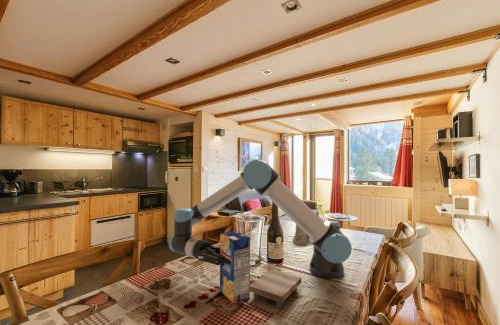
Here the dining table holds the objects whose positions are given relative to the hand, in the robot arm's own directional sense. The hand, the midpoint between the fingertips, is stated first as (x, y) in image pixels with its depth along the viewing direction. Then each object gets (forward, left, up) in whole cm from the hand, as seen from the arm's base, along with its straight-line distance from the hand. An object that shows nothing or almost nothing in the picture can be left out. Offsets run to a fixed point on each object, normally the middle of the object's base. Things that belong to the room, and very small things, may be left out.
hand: (244, 261), depth 87 cm
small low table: (-9, +8, -14) cm, 18 cm away
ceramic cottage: (-78, -7, -14) cm, 79 cm away
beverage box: (-1, -5, -14) cm, 15 cm away
